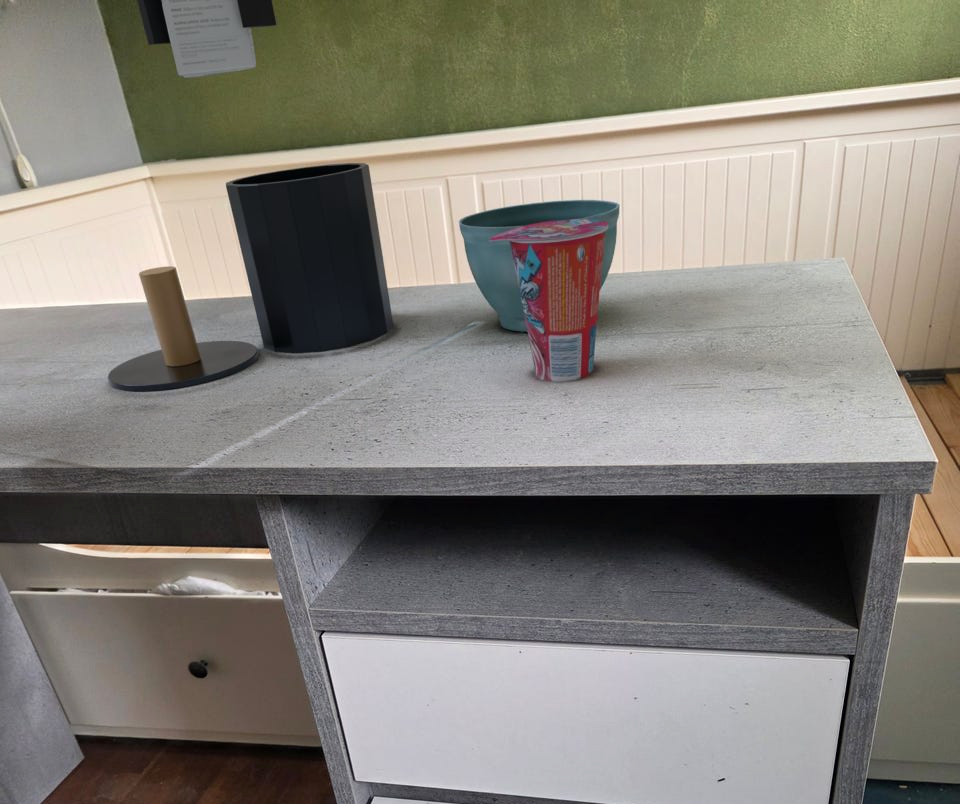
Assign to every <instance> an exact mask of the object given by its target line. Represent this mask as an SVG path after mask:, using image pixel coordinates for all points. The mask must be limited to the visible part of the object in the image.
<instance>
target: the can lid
mask: <svg viewBox="0 0 960 804" xmlns="http://www.w3.org/2000/svg"><path fill="white" fill-rule="evenodd" d="M138 276H139V279H140V283H141V285H142V289H143V293H144V296H145V299H146V303H147V306H148V309H149V312H150V313H149V314H150V316H151V319H152V322H153V326H154V329H155V333H156V336H157V339H158V343H159V346H160V349H158V350H155V351H151V352H147V353H144V354H142V355H141V354H140V355H139V356H136V357H133V358H131V359H128V360H127V361H126V360H125V361H124V362H122V363H120V364H119V365H117V366H115V367H114V368H112V369H111V370H110V371H109V373H108V374H107V379H108V382H109V384H110V385H111V386H112V387H113V388H115V389H117V390H122V391H127V392H154V391H164V390H165V391H166V390H173V389H180V388H185V387H190V386H191V387H192V386H196V385H200V384H205V383H208V382H211V381H215V380H218V379H223V378H226V377H228V376H230V375H232V374H236V373H238V372H240V371H243V370H244V369H246V368H248V367H250V366H251V365H252V364H254V363H255V362H256V361H257V360H258V358H259V355H260V354H259V350H258V348H257V346H255V344H253V343H250V342H246V341H238V340H212V341H200V342H197V339H196V334H195V332H194V327H193V325H192V321H191V317H190V314H189V311H188V306H187V303H186V299H185V296H184V295H185V294H184V292H183V288H182V284H181V281H180V278H179V274H178V271H177V267H176V266H172V265H171V266H169V265H168V266H159V267H154V268H148V269H144V270H141V271H140V272H139V273H138Z"/></svg>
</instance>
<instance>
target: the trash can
mask: <svg viewBox="0 0 960 804" xmlns="http://www.w3.org/2000/svg"><path fill="white" fill-rule="evenodd" d="M371 177H372V176H371V172H370V165H369V164H367V163H366V162H345V163H333V164H332V163H329V164H321V165H312V166H303V167H297V168H289V169H282V170H275V171H269V172H264V173H258V174H253V175H249V176H244V177H240V178H236V179H232V180H229V181H227V182H226V183H225V188H226V192H227V196H228V201H229V204H230V209H231V213H232V218H233V221H234V227H235V230H236V235H237V238H238V244H239V247H240V252H241V256H242V260H243V264H244V268H245V273H246V276H247V282H248V286H249V289H250V294H251V298H252V302H253V303H252V304H253V308H254V311H255V314H256V319H257V324H258V327H259V332H260V336H261V340H262V344H263V345H262V346H263V349H266V350H268V351H271V352H273V353H280V354H292V355H293V354H296V355H297V354H312V353H313V354H314V353H324V352H329V351H335V350H340V349H347V348H351V347H354V346H358V345H362V344H365V343H369V342H373V341H374V340H377V339H379V338H381V337H383V336H385V335H387V334H388V333H389V332H390V331H391V330H392V329H393V328H394V320H393V319H394V318H393V312H392V307H391V300H390V293H389V287H388V281H387V276H386V275H387V274H386V268H385V262H384V256H383V250H382V249H383V248H382V242H381V237H380V229H379V224H378V223H379V222H378V217H377V210H376V204H375V197H374V191H373V185H372V178H371Z"/></svg>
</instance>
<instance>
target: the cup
mask: <svg viewBox="0 0 960 804" xmlns="http://www.w3.org/2000/svg"><path fill="white" fill-rule="evenodd" d="M607 229H608V222H606V221H603V220H596V219H572V220H558V221H549V222H542V223H536V224H530V225H526V226H522V227H518V228H515V229H512V230H509V231H506V232H503V233H500V234H498V235H495V236H493V237H492V238H490V239H489V241H496V240H509V241H510V246H511V251H512V256H513V261H514V266H515V271H516V276H517V281H518V286H519V291H520V296H521V301H522V306H523V311H524V316H525V321H526V326H527V331H528V332H527V336H528V342H529V346H530V352H531V357H532V363H533V365H534V366H533V368H534V372H535V377H536V378H538V379H539V380H542V381H546V382H556V383H557V382H570V381H575V380H579V379H583V378H586V377H588V376H590V375H591V374H592V373H593V372H594V361H595V351H596V337H597V327H598V315H599V303H600V294H601V293H600V292H601V290H600V283H601V273H602V263H603V253H604V242H605V232H606V230H607Z"/></svg>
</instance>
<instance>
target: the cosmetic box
mask: <svg viewBox="0 0 960 804" xmlns="http://www.w3.org/2000/svg"><path fill="white" fill-rule="evenodd" d="M161 2H162V6H163V10H164V15H165V19H166V24H167V28H168V33H169V37H170V41H171V44H170V45H171V50H172V54H173V59H174V62H175V67H176V71H177V75H178V76H180V77H184V79H188V78H197V77H206V76H212V75H219V74H226V73H232V72H239V71H244V70H250V69H254V68H256V67H257V61H256V54H255V53H256V52H255V45H254V40H253V35H252V28H243V25H242V21H241V16H240V11H239V6H238V2H237V0H161Z"/></svg>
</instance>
